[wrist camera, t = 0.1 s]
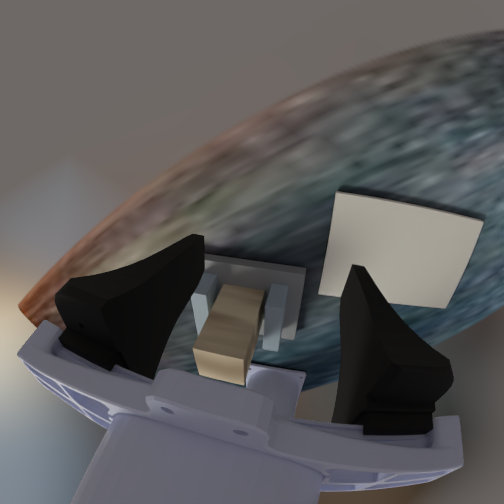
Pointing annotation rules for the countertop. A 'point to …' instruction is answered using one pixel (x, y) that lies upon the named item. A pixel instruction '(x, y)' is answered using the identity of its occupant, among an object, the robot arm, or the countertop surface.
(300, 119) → the countertop surface
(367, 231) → the mat
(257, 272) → the vise
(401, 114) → the countertop surface
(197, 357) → the peg
